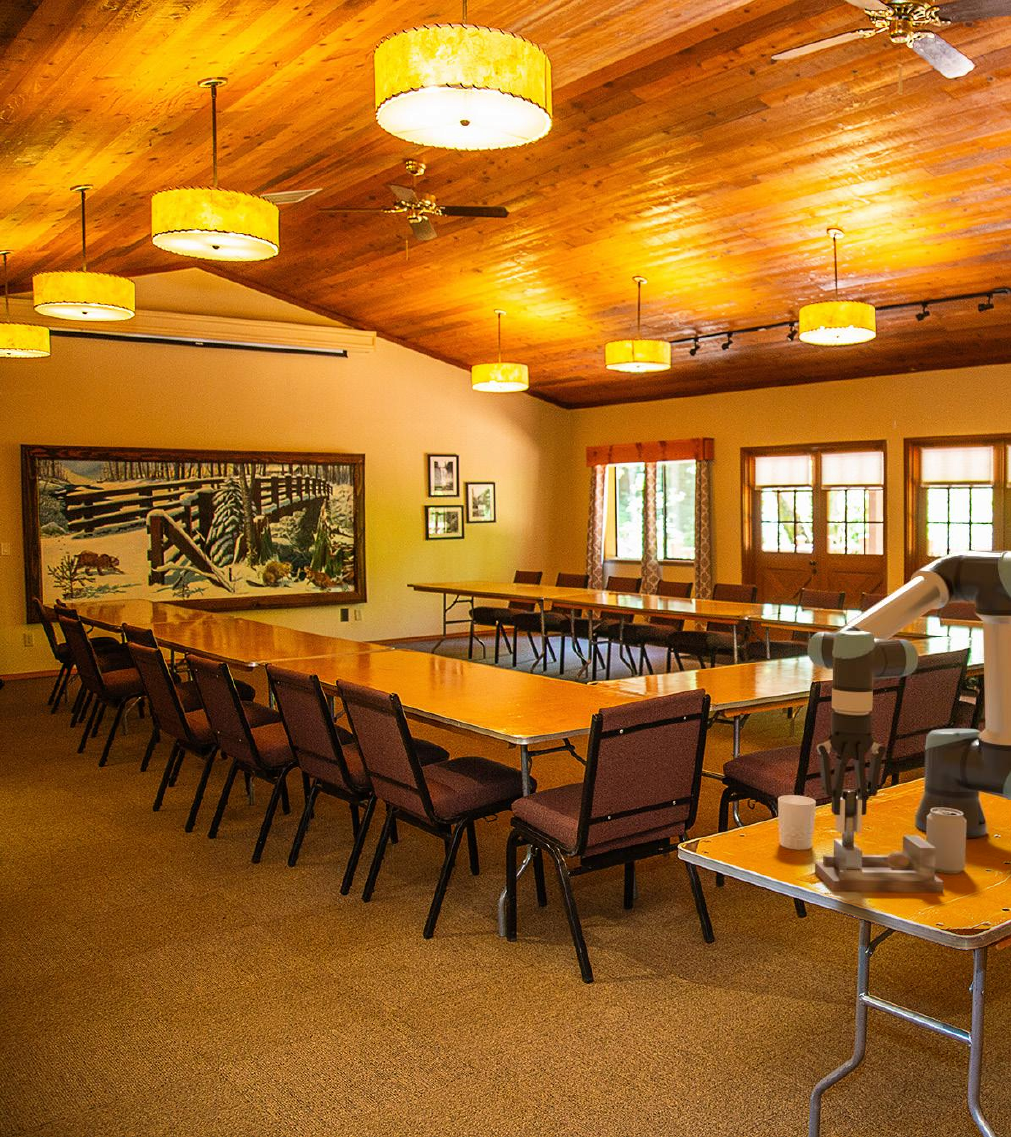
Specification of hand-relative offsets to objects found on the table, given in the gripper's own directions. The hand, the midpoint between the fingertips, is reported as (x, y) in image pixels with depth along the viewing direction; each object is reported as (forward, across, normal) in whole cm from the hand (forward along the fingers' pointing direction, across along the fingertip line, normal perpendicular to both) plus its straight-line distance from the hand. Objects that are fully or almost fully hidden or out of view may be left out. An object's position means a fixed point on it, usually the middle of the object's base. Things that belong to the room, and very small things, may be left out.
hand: (848, 830), depth 202 cm
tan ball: (+8, -10, 0) cm, 13 cm away
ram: (+8, 0, 0) cm, 8 cm away
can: (+10, -23, -8) cm, 26 cm away
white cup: (+10, +3, -23) cm, 25 cm away
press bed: (+10, -6, 0) cm, 12 cm away
